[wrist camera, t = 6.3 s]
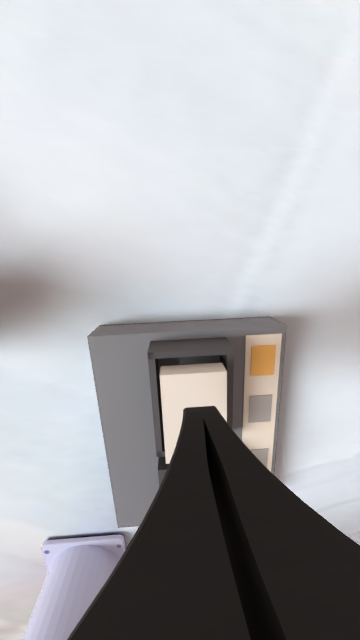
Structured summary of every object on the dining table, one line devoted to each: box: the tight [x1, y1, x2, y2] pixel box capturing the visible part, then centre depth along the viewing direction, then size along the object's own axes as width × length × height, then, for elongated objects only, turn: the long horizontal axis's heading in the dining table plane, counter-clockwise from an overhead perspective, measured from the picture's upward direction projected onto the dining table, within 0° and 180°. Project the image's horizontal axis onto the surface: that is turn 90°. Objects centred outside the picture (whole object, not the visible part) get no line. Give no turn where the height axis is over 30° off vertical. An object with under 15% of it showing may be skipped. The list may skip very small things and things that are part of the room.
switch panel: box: [87, 317, 286, 528], centre depth 17 cm, size 17×13×4 cm
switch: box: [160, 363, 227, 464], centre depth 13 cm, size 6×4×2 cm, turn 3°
